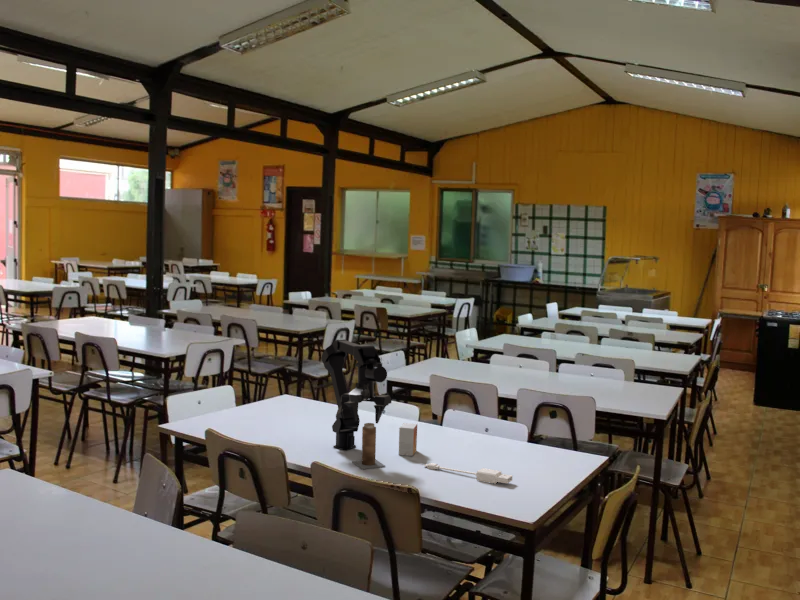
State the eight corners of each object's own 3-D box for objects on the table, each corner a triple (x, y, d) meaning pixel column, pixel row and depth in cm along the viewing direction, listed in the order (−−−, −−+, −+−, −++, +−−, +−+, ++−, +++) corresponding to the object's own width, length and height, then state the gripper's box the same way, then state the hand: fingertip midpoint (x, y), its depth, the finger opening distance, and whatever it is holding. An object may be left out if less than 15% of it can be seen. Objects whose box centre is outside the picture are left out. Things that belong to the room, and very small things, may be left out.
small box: (412, 456, 271) (413, 428, 270) (398, 455, 272) (399, 427, 271) (416, 450, 278) (417, 423, 278) (402, 449, 279) (403, 422, 279)
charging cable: (428, 468, 261) (428, 459, 260) (512, 482, 243) (512, 472, 243) (421, 471, 256) (421, 462, 256) (506, 486, 239) (506, 476, 239)
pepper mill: (359, 463, 258) (359, 424, 257) (366, 460, 262) (367, 421, 261) (370, 466, 255) (371, 426, 254) (377, 462, 259) (378, 423, 258)
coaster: (352, 462, 261) (352, 461, 261) (375, 459, 265) (375, 458, 264) (361, 469, 253) (361, 468, 252) (385, 467, 256) (385, 465, 256)
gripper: (332, 380, 263) (332, 423, 264) (376, 383, 254) (376, 428, 254) (349, 377, 273) (349, 418, 273) (392, 380, 264) (392, 423, 264)
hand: (366, 422), depth 266 cm, fingers open, 9 cm apart
